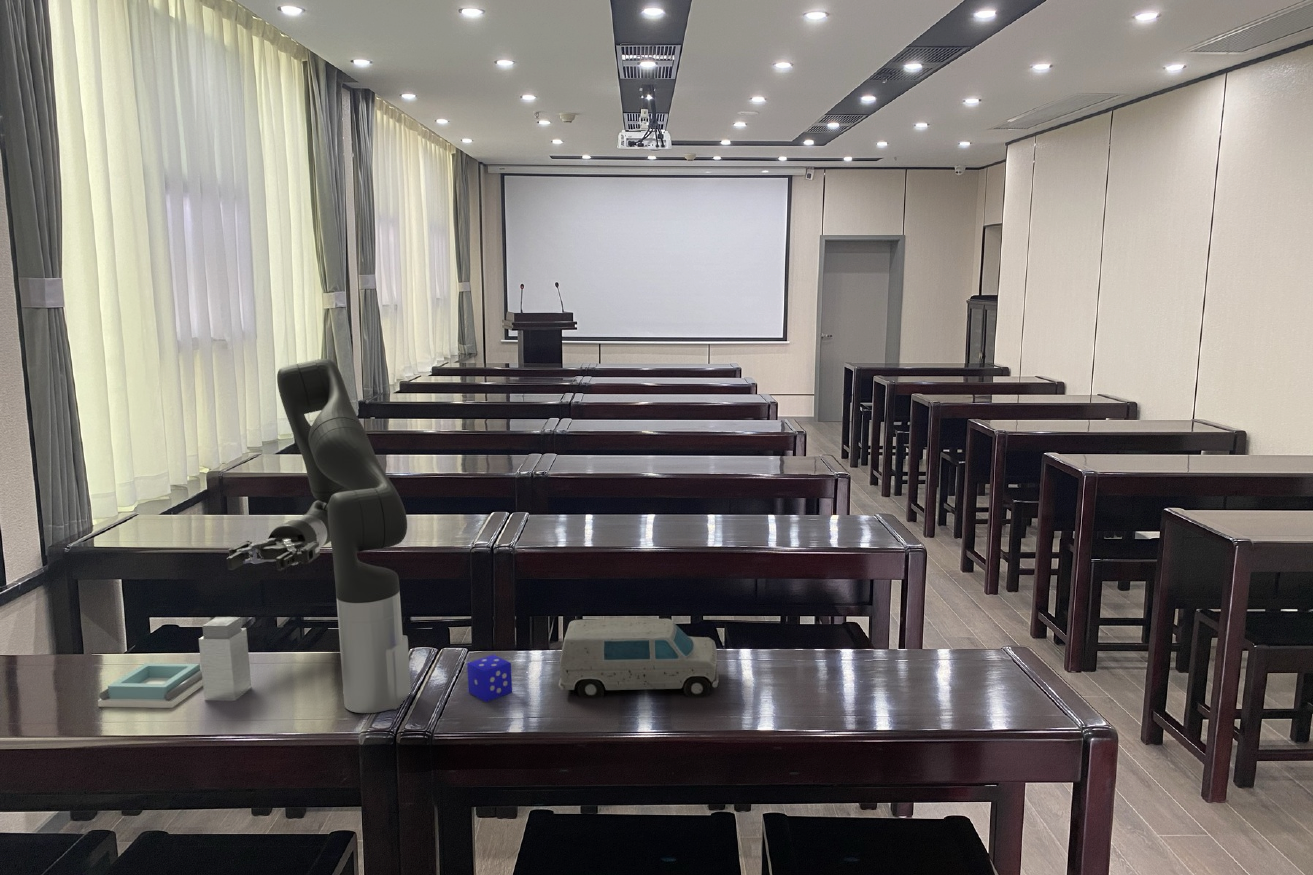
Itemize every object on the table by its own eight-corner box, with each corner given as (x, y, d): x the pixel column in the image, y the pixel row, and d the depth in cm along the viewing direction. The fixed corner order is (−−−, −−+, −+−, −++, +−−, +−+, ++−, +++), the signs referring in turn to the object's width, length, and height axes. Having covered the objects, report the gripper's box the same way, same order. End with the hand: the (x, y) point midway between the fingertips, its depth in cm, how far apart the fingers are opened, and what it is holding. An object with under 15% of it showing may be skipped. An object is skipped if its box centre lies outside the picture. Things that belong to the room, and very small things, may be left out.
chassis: (211, 679, 156) (209, 661, 155) (171, 707, 145) (170, 689, 144) (143, 678, 157) (141, 660, 156) (98, 706, 146) (96, 688, 145)
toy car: (719, 698, 144) (718, 636, 142) (557, 700, 144) (555, 638, 143) (716, 671, 154) (715, 612, 153) (566, 673, 155) (563, 615, 154)
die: (468, 692, 148) (466, 662, 147) (495, 683, 151) (493, 654, 150) (485, 702, 144) (483, 671, 144) (512, 692, 148) (511, 662, 147)
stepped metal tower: (251, 687, 152) (245, 616, 150) (235, 700, 147) (228, 626, 145) (222, 687, 152) (215, 615, 151) (204, 700, 147) (197, 626, 146)
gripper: (260, 519, 174) (211, 542, 158) (334, 519, 173) (293, 542, 157) (263, 558, 175) (215, 585, 159) (337, 558, 174) (296, 586, 158)
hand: (254, 564), depth 158 cm, fingers open, 8 cm apart
